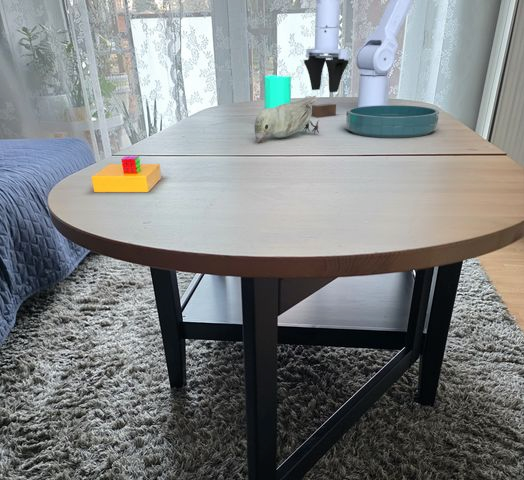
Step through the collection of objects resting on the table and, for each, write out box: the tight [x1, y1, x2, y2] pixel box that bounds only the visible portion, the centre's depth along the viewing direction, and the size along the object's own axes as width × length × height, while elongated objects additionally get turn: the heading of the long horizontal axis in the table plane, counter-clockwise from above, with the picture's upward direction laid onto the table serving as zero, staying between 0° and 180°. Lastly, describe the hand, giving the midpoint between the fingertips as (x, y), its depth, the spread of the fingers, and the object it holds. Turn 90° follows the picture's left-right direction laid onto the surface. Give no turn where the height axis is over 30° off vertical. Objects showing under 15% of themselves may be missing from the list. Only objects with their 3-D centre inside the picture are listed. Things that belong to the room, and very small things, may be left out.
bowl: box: [345, 104, 440, 139], centre depth 111 cm, size 19×19×4 cm
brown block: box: [311, 103, 337, 118], centre depth 133 cm, size 6×3×3 cm, turn 120°
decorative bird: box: [254, 95, 320, 144], centre depth 105 cm, size 5×16×8 cm, turn 129°
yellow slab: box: [91, 155, 162, 193], centre depth 75 cm, size 8×8×4 cm
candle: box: [263, 68, 292, 110], centre depth 117 cm, size 6×6×12 cm
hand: (324, 90), depth 130 cm, fingers open, 7 cm apart
